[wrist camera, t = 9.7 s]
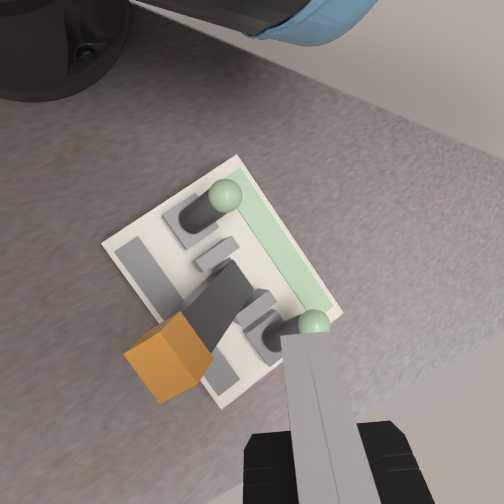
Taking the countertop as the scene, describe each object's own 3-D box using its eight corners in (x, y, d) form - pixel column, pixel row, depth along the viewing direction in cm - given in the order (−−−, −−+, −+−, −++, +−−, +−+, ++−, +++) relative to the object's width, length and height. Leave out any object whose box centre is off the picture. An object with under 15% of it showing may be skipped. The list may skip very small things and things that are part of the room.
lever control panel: (104, 245, 35) (89, 237, 26) (230, 163, 37) (255, 130, 28) (215, 398, 36) (236, 440, 27) (328, 309, 39) (381, 322, 30)
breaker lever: (211, 268, 33) (123, 354, 21) (237, 252, 32) (159, 332, 20) (234, 301, 34) (160, 404, 22) (260, 286, 33) (197, 384, 21)
